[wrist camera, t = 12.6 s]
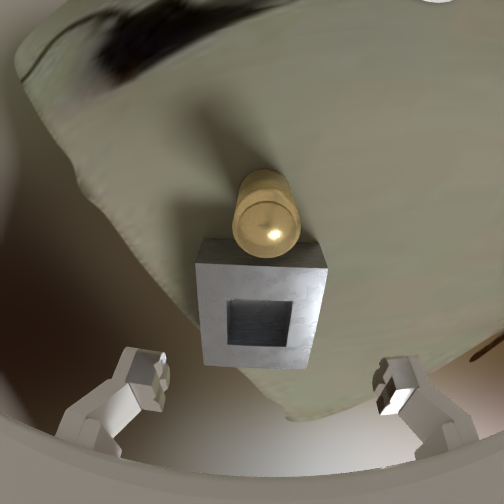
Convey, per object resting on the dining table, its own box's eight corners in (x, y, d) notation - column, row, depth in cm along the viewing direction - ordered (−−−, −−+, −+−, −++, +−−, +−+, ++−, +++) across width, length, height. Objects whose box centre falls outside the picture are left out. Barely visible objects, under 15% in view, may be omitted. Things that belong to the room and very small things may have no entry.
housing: (203, 238, 32) (195, 263, 27) (319, 243, 32) (328, 268, 27) (209, 336, 38) (204, 365, 34) (302, 339, 38) (306, 368, 34)
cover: (239, 168, 28) (231, 196, 21) (292, 170, 28) (305, 200, 21) (238, 216, 31) (231, 260, 23) (288, 219, 30) (298, 263, 23)
